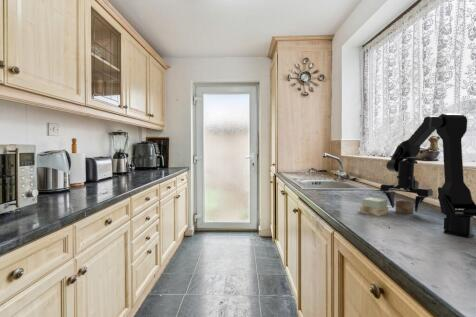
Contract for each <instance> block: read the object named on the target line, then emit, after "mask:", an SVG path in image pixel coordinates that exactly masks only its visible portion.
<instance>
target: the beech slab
mask: <svg viewBox="0 0 476 317" xmlns="http://www.w3.org/2000/svg"><path fill="white" fill-rule="evenodd" d="M359 212H360V213H363V214H366V215H367V214H368V215H371V216H372V215H373V216H377V217H381V216H384V215H387V214H389V207H388V206H387V207H385V208H381V209H376V208H370V207H365V206H362V204H361V205H359Z"/></svg>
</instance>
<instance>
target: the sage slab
mask: <svg viewBox="0 0 476 317" xmlns="http://www.w3.org/2000/svg"><path fill="white" fill-rule="evenodd" d="M361 200H362V201H361V205H362V206H365V207H370V208H376V209H381V208H385V207H388V199H384V198H379V197H378V198H376V197H372V196H370V197H365V198H362V199H361Z"/></svg>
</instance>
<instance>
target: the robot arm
mask: <svg viewBox="0 0 476 317" xmlns="http://www.w3.org/2000/svg"><path fill="white" fill-rule="evenodd" d="M467 129H468V118H467V116H465V115H464V114H463V113H462V114H461V113H441V114H440V115H428V116H425V117H424V119H423V120H422V123H421V124H420V125H419V126H418V127H417V129H416V130H415V132H413V133H412V135H411V136H410V137H409V138H408V139H406V140H404V141H402V142H401V143H400V144H398V145H397V147H396V148H395V151H394V153H392V155H391V158H390V160H388V161H387V163H386V168H387V170H388V171H389V172H394V173H397V175H396V179H397V185H396V186H395V184H392V183H382V184H380V187H379V190H380V191H381V192H382V193H383V194H385V195H386V198H387V200H388V201H389V204H390V206H391V208H393V209H394V208H395V195H396V192H404V193H409V194H410V193H411V194H417V195H415V200H414V204H415V206H414V211H415V212H416V213H417V212H418V211H419V209H420V207H421V204H422V203H423V201H424V200H425V199H427V198H429V197H432V196H434V194H433V193H434V191H433V189H432V188H429V187H428V188H427V187H419V184H420V182H419V181H417V180H416V177H415V174H414V173H415V165H416V164H418V163H419V162H418V161H417V160H416V157H417V156H418V155H419V153H420V152H421V146H422V145H423V144H424V143H425V141H426V140H428V138H429V137H430V136H431V135H432V134H433V133H434V132H436V133H437V135H438V137H439V138H440V139H441V141H442V150H443V151H442V152H443V171H444V182H443V184H442V186H438V188H437V194H438V195H437V200H438V202H439V206H440V212H441V214H444V215H446V216H444V218H443V233H446V234H449V235H450V234H451V235H455V236H459V237H464V238H470V237H472V236H473V235H474V234H475V232H473V224H474V223H473V222H474V217H476V203H475V201H474V200H473V196H472V193H471V189H470V188H469V187H468V186H467V184H466V183H465V179H464V178H465V177H464V164H463V150H462V149H463V148H462V147H463V145H462V144H463V143H462V139H463V137H464V136H465V134H466V133H467Z"/></svg>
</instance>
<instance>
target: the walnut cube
mask: <svg viewBox="0 0 476 317" xmlns="http://www.w3.org/2000/svg"><path fill="white" fill-rule="evenodd" d="M414 204H415V200H409V199H401V198H400V199H396V200H395V213H400V214H405V215H410V214H413V213H414Z"/></svg>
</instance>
